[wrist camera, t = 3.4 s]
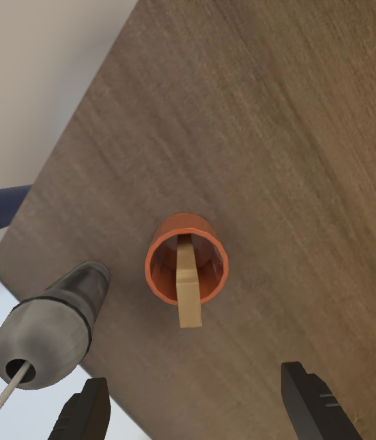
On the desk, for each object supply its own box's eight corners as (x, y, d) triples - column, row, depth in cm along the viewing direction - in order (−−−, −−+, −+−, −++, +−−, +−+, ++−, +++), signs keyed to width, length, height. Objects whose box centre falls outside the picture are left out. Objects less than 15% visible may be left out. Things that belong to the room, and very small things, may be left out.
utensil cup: (156, 275, 33) (149, 310, 26) (149, 215, 32) (140, 232, 24) (218, 270, 34) (229, 303, 26) (215, 210, 32) (226, 225, 24)
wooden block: (179, 259, 32) (179, 328, 19) (177, 232, 32) (175, 284, 18) (192, 257, 32) (202, 327, 19) (190, 231, 32) (198, 282, 18)
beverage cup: (130, 265, 33) (59, 412, 13) (107, 311, 34) (12, 507, 15) (76, 240, 32) (-83, 360, 13) (54, 288, 33) (-121, 466, 14)
